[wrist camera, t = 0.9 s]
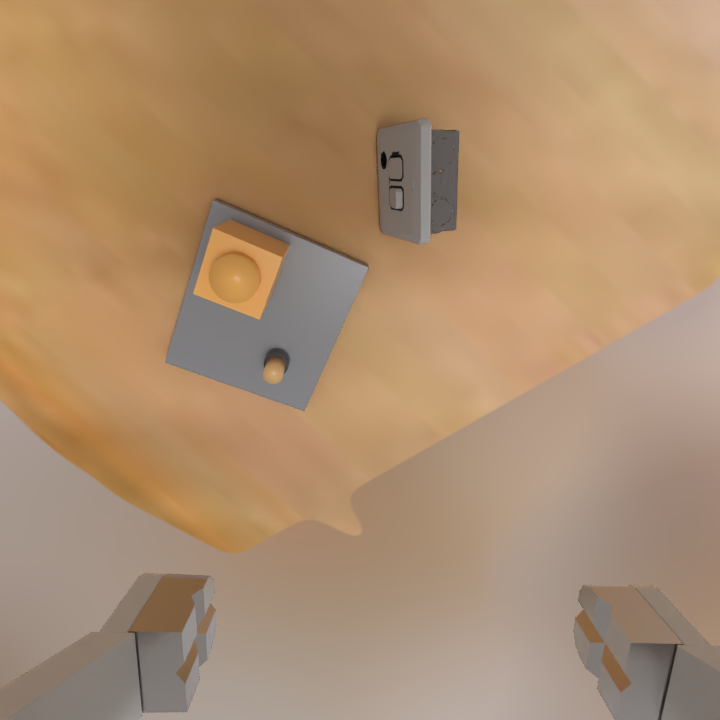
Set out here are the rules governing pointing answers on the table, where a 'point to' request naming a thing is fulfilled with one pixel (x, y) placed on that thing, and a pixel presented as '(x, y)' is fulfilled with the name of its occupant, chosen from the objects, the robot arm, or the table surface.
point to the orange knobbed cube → (240, 268)
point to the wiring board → (269, 318)
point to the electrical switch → (417, 180)
